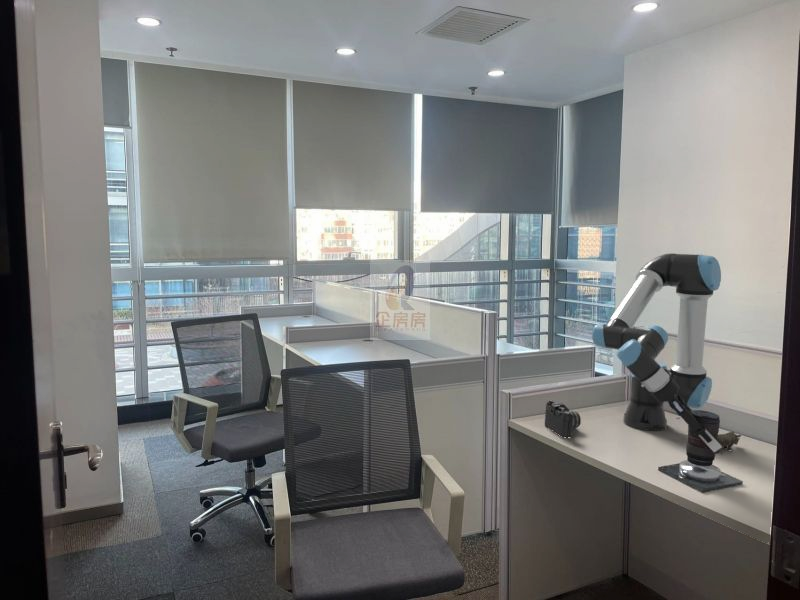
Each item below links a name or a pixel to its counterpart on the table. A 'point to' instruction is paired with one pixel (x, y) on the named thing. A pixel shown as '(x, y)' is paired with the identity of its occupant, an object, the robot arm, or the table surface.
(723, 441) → the rhino figurine
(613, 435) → the table surface
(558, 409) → the camera
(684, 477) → the mount
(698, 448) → the camera lens
